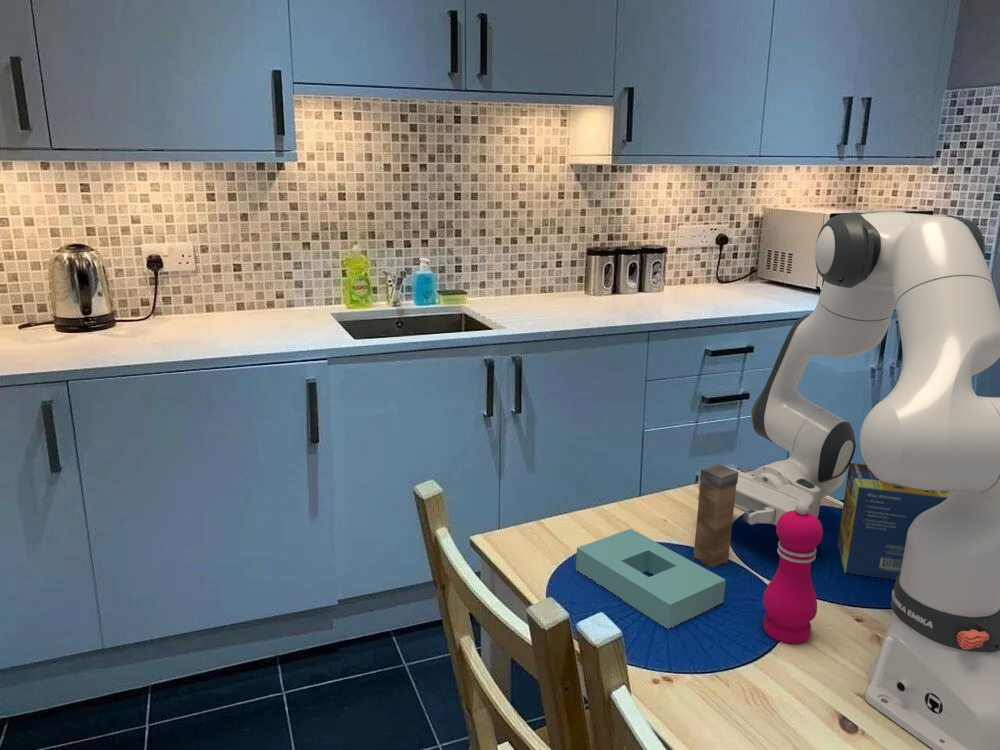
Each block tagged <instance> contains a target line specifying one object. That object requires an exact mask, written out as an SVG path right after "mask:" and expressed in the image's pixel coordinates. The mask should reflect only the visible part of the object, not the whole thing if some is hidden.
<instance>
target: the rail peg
mask: <svg viewBox="0 0 1000 750" xmlns="http://www.w3.org/2000/svg"><path fill="white" fill-rule="evenodd" d="M727 467H728V466H724V465H722V464H720V463H716V464H713V465H710V466H706V467H702V468H701V469H700V473H699V475H700V491H699V492H698V494H699V501H698V504H697V515H696V516H697V517H696V527H695V537H694V547H693V548H694V549H693V557H694V558H693V559H695V558H696V559H698V560H699V562H700V561H701V562H700V563H702V562H703V563H702V564H704V563H705V564H704V565H706V566H707V567H710V566H711V567H713V568H716V567H718V566H720V565H722V564H721V563H723V564H725V563H727V562H729V560H730V559H729V557H730V548H731V539H732V538H731V537H732V528H733V519H734V512H735V511H734V510H735V507H734V502H735V493H736V484H737V482H738V473H739V472H737V471H735V470H732V469H730V468H731V467H730V468H727ZM696 559H695V560H696ZM698 560H697V561H698ZM719 564H720V565H719ZM717 565H718V566H717ZM715 566H716V567H715ZM711 567H710V568H711Z"/></svg>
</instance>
